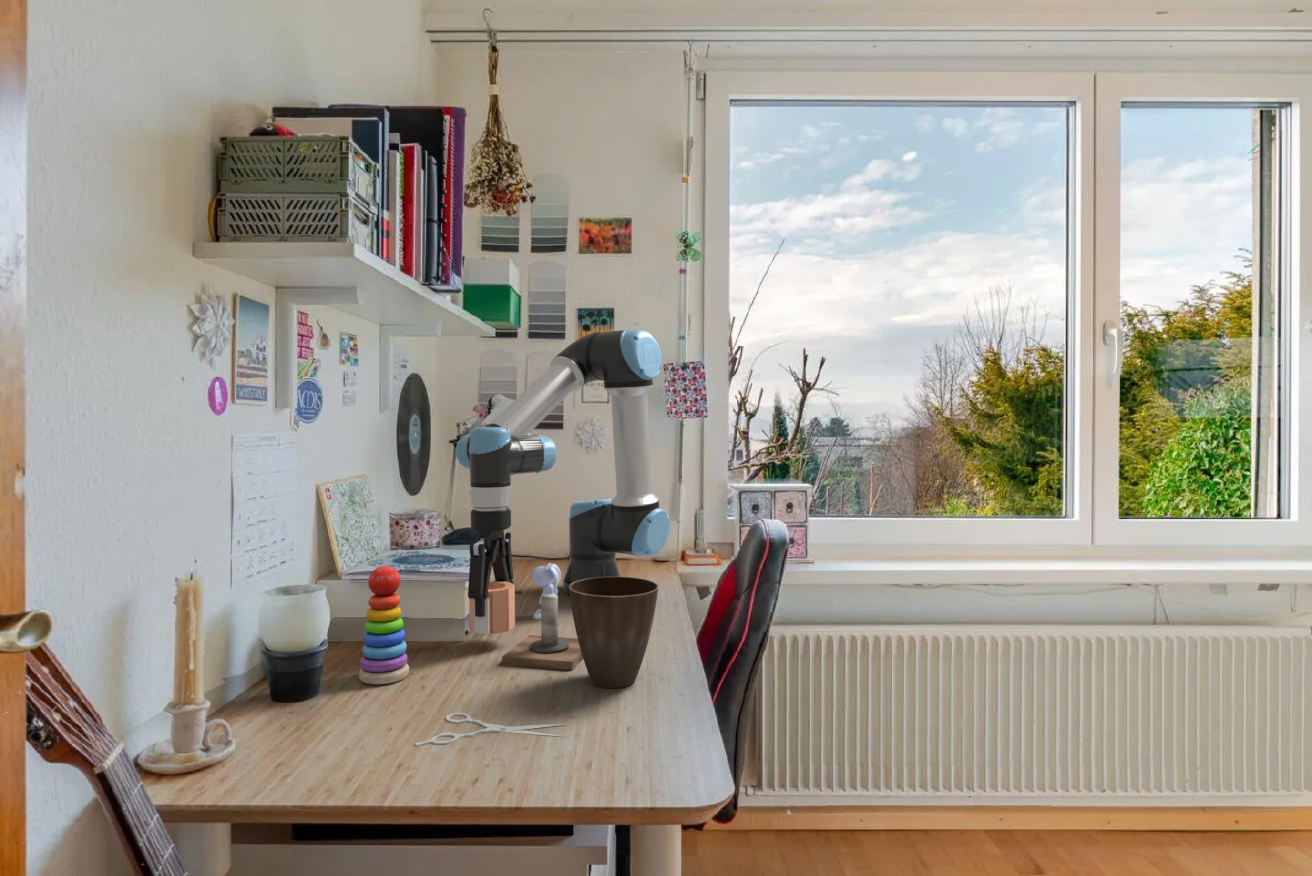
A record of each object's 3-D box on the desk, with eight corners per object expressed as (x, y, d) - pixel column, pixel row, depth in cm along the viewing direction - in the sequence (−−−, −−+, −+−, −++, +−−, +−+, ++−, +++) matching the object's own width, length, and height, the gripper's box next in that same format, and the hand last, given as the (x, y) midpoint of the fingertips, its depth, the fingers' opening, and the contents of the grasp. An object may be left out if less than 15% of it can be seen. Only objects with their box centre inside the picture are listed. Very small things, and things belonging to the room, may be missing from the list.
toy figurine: (533, 612, 165) (533, 559, 165) (562, 612, 165) (562, 559, 165) (528, 620, 158) (528, 565, 158) (557, 620, 158) (558, 565, 158)
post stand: (529, 642, 143) (529, 586, 143) (593, 647, 140) (593, 590, 140) (502, 664, 130) (502, 602, 130) (572, 670, 128) (572, 607, 127)
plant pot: (573, 664, 130) (573, 575, 130) (657, 665, 130) (657, 575, 130) (563, 696, 115) (564, 595, 115) (658, 697, 116) (659, 596, 115)
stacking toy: (418, 677, 123) (418, 566, 123) (372, 690, 118) (372, 574, 117) (395, 666, 129) (395, 560, 128) (350, 677, 123) (350, 566, 122)
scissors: (438, 712, 109) (574, 712, 108) (439, 717, 109) (574, 717, 108) (414, 744, 98) (564, 744, 98) (414, 750, 98) (564, 750, 98)
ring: (482, 620, 146) (481, 580, 145) (520, 622, 144) (519, 582, 144) (463, 632, 138) (463, 590, 138) (503, 634, 136) (503, 592, 136)
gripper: (495, 500, 151) (496, 609, 152) (446, 515, 131) (448, 641, 132) (529, 501, 149) (530, 611, 150) (485, 516, 129) (487, 644, 130)
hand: (492, 625), depth 141 cm, fingers closed on ring, 8 cm apart
